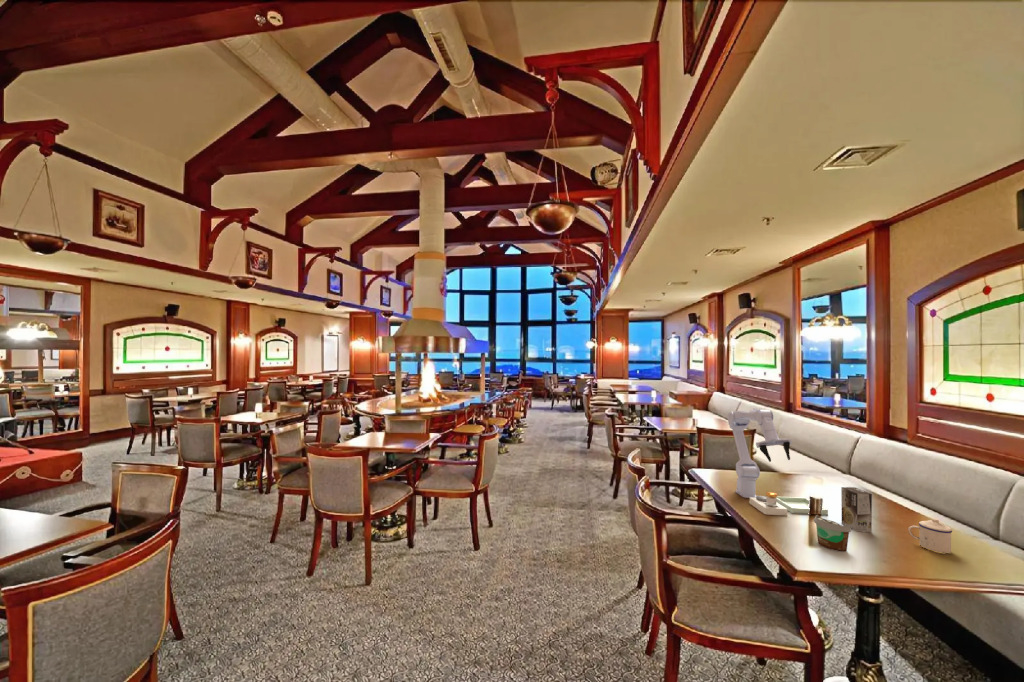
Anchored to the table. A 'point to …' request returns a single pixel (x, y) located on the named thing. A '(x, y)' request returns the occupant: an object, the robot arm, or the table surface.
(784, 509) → the plate
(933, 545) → the teacup with lid
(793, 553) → the table surface
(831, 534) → the food container
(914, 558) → the table surface
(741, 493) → the robot arm
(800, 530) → the table surface
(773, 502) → the jar
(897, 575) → the table surface
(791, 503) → the tray
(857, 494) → the coffee box
